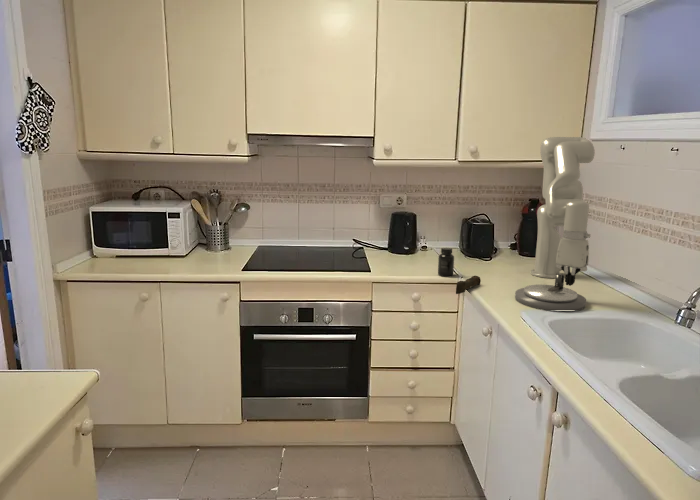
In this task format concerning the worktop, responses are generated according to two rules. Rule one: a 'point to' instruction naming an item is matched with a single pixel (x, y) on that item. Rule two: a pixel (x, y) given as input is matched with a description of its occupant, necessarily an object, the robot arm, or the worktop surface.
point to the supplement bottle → (446, 263)
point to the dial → (551, 291)
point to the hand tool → (467, 284)
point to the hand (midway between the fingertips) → (569, 284)
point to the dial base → (539, 304)
